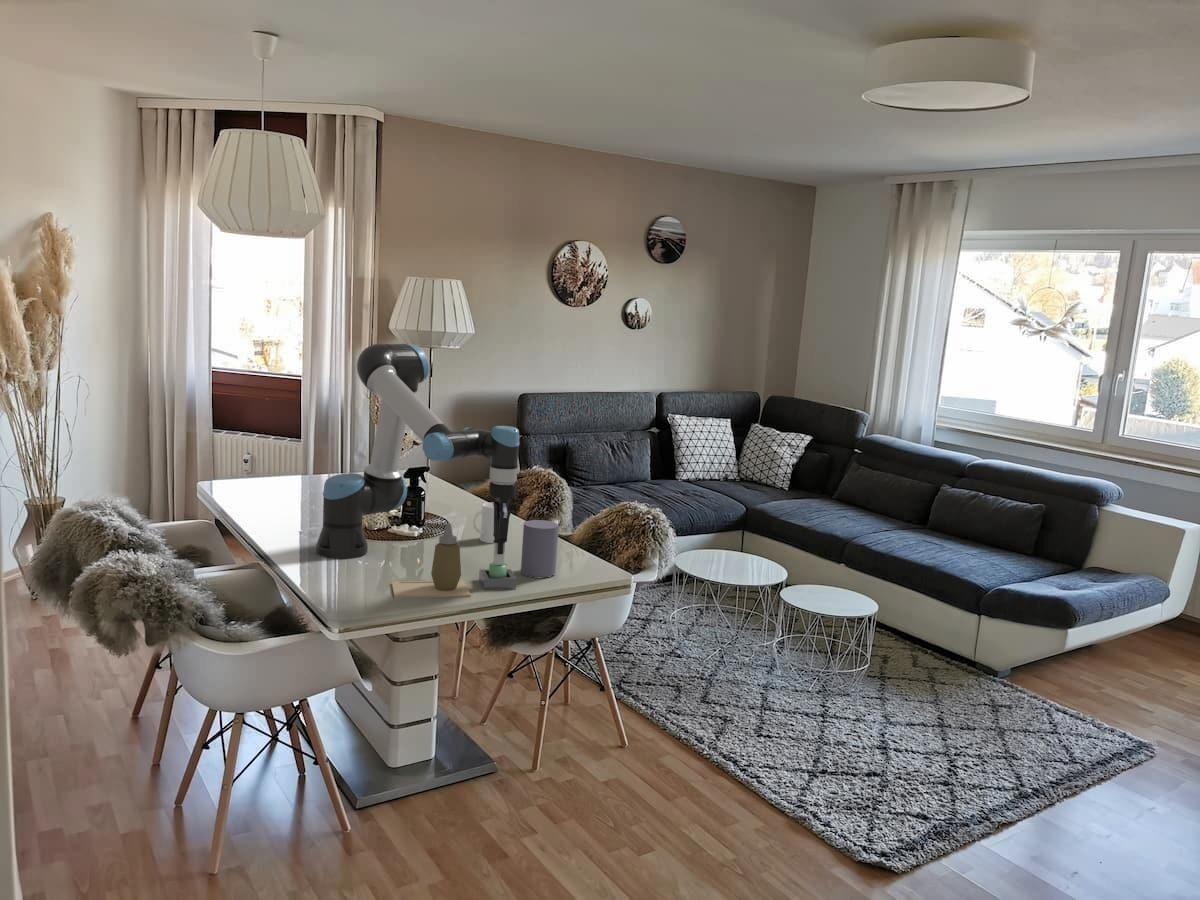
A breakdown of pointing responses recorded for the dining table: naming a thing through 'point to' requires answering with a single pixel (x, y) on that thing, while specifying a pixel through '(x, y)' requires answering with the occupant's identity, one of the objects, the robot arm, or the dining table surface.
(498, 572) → the button
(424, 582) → the sketch pad
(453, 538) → the squeeze bottle
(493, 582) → the button housing
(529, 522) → the container
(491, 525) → the mug
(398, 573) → the dining table surface
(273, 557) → the dining table surface
